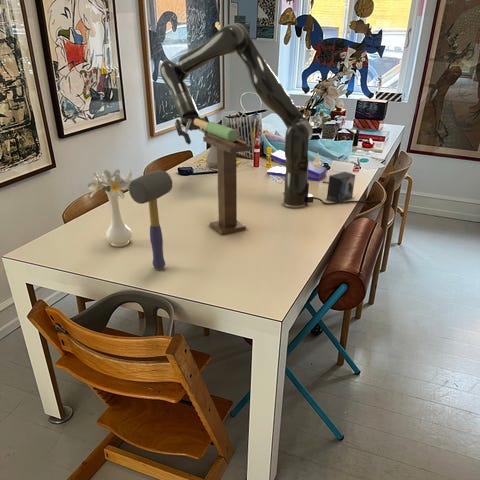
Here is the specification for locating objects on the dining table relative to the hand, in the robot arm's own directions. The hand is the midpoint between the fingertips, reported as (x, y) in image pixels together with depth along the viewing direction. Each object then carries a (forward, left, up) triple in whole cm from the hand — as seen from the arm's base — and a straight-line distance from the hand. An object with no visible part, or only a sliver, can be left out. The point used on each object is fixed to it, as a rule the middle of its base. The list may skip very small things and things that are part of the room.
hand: (199, 142), depth 193 cm
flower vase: (+39, +33, -25) cm, 57 cm away
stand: (-1, +33, -24) cm, 41 cm away
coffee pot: (-27, -48, -25) cm, 60 cm away
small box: (-57, +17, -25) cm, 65 cm away
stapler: (-56, -22, -25) cm, 65 cm away
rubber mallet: (+30, +58, -25) cm, 70 cm away
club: (+1, +22, +9) cm, 24 cm away
